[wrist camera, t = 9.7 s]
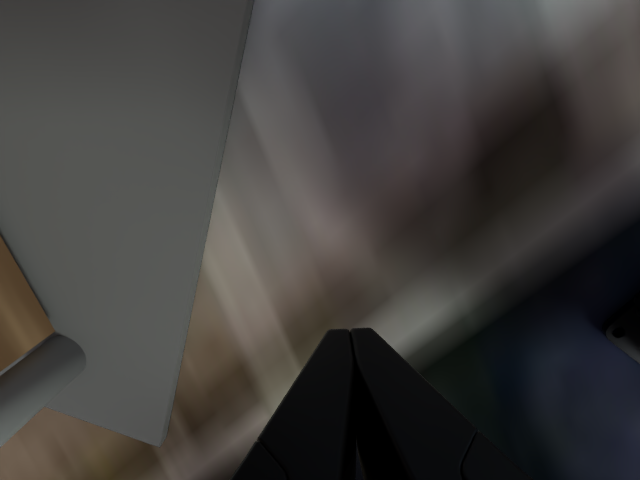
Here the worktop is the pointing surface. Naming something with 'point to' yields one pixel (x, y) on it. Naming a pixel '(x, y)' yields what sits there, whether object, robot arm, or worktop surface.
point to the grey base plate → (111, 194)
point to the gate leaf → (18, 312)
